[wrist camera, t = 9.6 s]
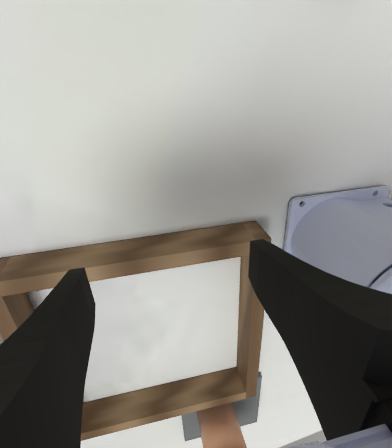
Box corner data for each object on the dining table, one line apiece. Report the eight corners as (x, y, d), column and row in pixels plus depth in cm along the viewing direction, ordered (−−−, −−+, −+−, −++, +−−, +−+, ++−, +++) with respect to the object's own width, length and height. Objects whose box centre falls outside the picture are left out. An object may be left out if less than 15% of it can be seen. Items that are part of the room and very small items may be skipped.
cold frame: (255, 220, 24) (271, 238, 22) (246, 371, 34) (255, 395, 31) (-166, 282, 19) (-212, 315, 16) (-35, 438, 29) (-51, 474, 26)
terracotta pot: (218, 389, 33) (238, 459, 27) (242, 403, 36) (265, 470, 30) (185, 413, 34) (197, 486, 28) (211, 425, 37) (227, 495, 30)
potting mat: (259, 372, 35) (261, 376, 34) (255, 417, 39) (256, 421, 39) (178, 391, 33) (179, 396, 32) (184, 436, 38) (185, 441, 37)
